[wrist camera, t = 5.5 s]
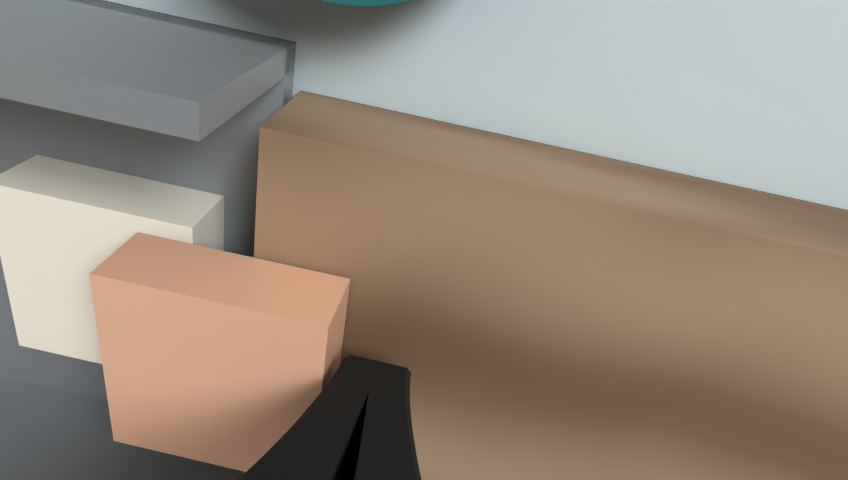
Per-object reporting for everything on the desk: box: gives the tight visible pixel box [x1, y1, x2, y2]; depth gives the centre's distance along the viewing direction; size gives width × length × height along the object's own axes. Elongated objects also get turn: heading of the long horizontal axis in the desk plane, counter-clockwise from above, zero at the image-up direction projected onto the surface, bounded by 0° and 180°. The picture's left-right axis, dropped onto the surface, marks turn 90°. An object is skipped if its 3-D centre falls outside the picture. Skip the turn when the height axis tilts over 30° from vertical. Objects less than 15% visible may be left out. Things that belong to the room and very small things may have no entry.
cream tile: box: [0, 155, 224, 364], centre depth 14 cm, size 4×4×2 cm
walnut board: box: [244, 91, 848, 480], centre depth 14 cm, size 10×15×2 cm, turn 79°
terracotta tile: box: [89, 232, 350, 472], centre depth 13 cm, size 4×4×2 cm
